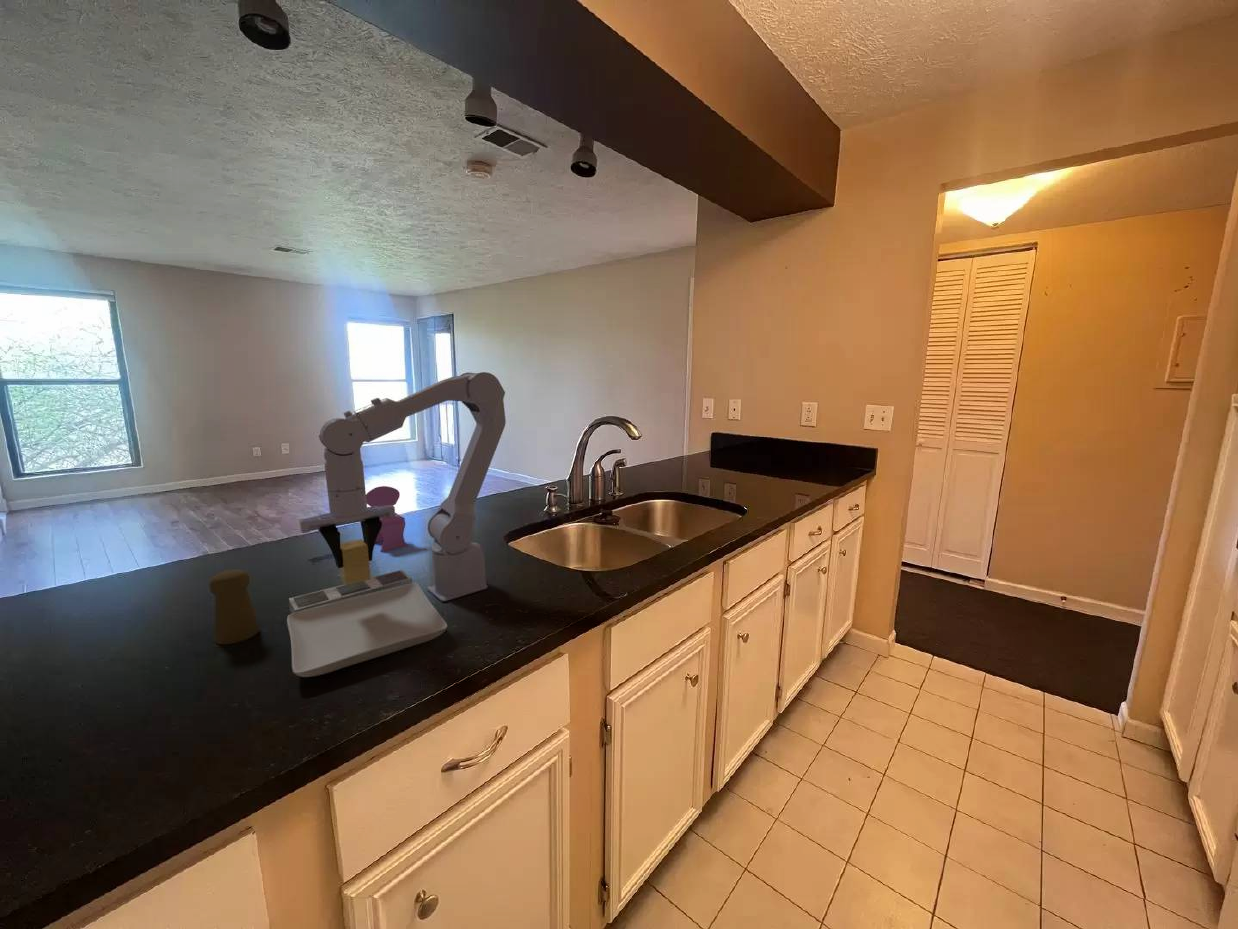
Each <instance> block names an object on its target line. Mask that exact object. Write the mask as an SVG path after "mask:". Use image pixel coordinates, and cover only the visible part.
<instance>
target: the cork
mask: <svg viewBox="0 0 1238 929" xmlns="http://www.w3.org/2000/svg"><path fill="white" fill-rule="evenodd" d="M250 580H251V579H250V575H249V573H248V572H246V570H243V569H230V570H224V571H222V572H219V573H216V574H215V575H214V576H212V577H211V578H210V580H209V584H208V585H209V586H208V587H209V590H210V592H211V594H212V595H213V596H214V598H215V600H214V643H216V644H217V645H230V644H236V643H240V642H243V641H247V640H249V639H250V638H253V637H254V636H256V635H257V634H258V633H259V632H260V631H261V628H260V625H259V621H258V619H257V616H256V613H255V610H254V607H253V604H252V601H251V598H250V595H249V592H248V587H249V586H250V583H251V581H250Z"/></svg>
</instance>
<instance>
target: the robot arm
mask: <svg viewBox="0 0 1238 929" xmlns="http://www.w3.org/2000/svg"><path fill="white" fill-rule="evenodd" d="M505 396H506V391H505V390H504V388H503V386H502V384H501V383H500V380H499V378H497V377H496V376H495V375H494V374H492V373H490V372H488V371H487V372H485V371H480V372H477V373H476V372H465V373H461V374H460V375H456V376H451V377H448V378H445V379H442V380H440V381H437V382H436V383H433V384H430V385H429V386H427V387H425V388H422V389H421V390H419V391H416V392H414V393H412V394H410V395H408V396H406V397H404V398H401V399H398V400H397V401H396V400H393V399H390V398H387V397H386V398H383V399H380V398H379V397H374V398H373V399H371V400H370V402H371V404H368V405H366V406H364V407H361V408H358V409H356V410H354V411H350V410H347V411H344V412H343V415H344V418H339V417H338V418H337V417H336V418H331V419H329V420H328V421H326V422H325V423H323V425H322V426H321V428H320V433H319V434H318V439H319V440H320V443H321V444H322V445H323V447H325V448H324V453H323V456H324V457H323V458H324V461H325V462H324V470H325V481H326V490H327V497H328V508H329V512H327V513H323V514H320V515H319V514H318V515H316V516H311V517H307V518H301V519H299V520H298V521H299V529H300V531H301V533H302V534H306V533H310V532H311V531H317V530H318V531H319V533H320V534H321V536H322V538H323V539H324V541H325V542H326V544H327V545H328V548H329V549H330V551H331V553H332V555H333V559H334V562H335V566H336V567H337V568H338V569H339V568H341V567H343V560H342V554H341V547H340V543H341V533H340V531H339V529H338V527H339V526H345V525H349V524H356V523H359V524H360V527H361V533H362V540H363V541H364V542H365V543H366V544H367V546H368V556H369V562H371V561H373V554H374V548H375V544H376V543H375V541H376V539H377V536H378V534H379V531H380V530H381V528H382V521H380V518H385V517H395V513H396V508H395V505H385V506H374V507H371V506H368V504H367V501H366V494H367V492H366V482H365V473H364V472H365V471H364V464H363V460H362V455H361V454H362V453H361V448H362V447H363V444H364V442H365V443H370V442H372V441H375V440H377V439H379V438H381V437H384V436H386V435H388V434H390V433H392V432H394V431H397V430H399V429H401V428H403V426H404V423H405V421H406V419H407V418H408V417H410V416H412V415H415V414H417V413H420V412H422V411H425V410H427V409H429V408H432V407H434V406H437V405H439V404H442V403H445V402H449V401H451V402H460V403H462V404H463V405H464V406H465V407H467V409H468V410H469V412H470V414H471V416H472V417H473V419H474V421H475V423H476V425H475V428H474V430H473V432H472V435H471V437H470V440H469V443H468V446H467V448H466V451H465V453H464V456H463V459H462V461H461V462H460V463H461V464H460V465H459V468H458V470H457V474H456V476H455V479H454V481H453V484H452V486H451V489H450V491H449V493H448V496H447V497H446V498H445V499H444V500H443V501H442V502H441V503H440V505H439V508H438V510H437V511H436V512H435V513H434V514H433V515H432V516H431V517H430V518H429V520H428V523H427V532H428V535H429V536H430V537H431V538H432V539H433V544H432V546H431V556H432V559H431V560H432V569H433V570H432V571H433V573H432V574H433V584H432V585H430V586H429V585H428V586H427V587H426V589H427V591H429V592H430V593H431V594H432V595H433V596H435V597H436V599H438V600H439V601H440V602H443V603H444V602H448V601H450V600H454V599H456V598H461V597H463V596H466V595H469V594H473V593H476V592H480V591H483V590H486V589H487V588H488V585H487V581H486V567H485V555H484V552H483V549H482V547H481V545H480V544H479V543H477V542H472V541H473V538H474V530H473V529H474V524H475V522H476V521H475V520H476V515H475V514H476V513H475V504H476V502H477V499H478V497H479V494H480V492H481V488H482V486H483V484H484V481H485V479H486V475H487V473H488V471H489V468H490V466H491V463H492V461H493V458H494V456H495V453H496V450H497V447H498V446H499V442H500V440H501V438H502V435H503V432H504V431H505V430H504V429H505V427H506V421H507V420H506V411H505V402H504V399H505Z"/></svg>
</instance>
